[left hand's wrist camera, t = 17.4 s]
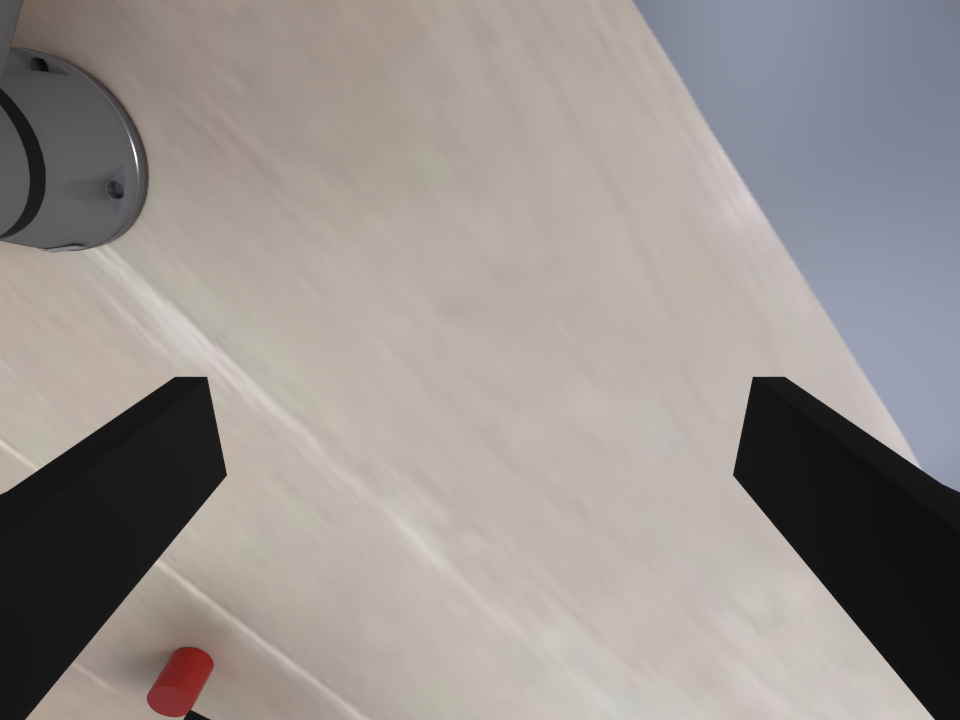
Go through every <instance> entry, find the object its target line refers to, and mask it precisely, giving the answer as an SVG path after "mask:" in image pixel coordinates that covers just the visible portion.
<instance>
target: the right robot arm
mask: <svg viewBox="0 0 960 720" xmlns="http://www.w3.org/2000/svg"><path fill="white" fill-rule="evenodd" d="M184 720H210V719H208V718H206V717H204V716H202V715H200V714H198V713H196V712H194V711H192V710H190V711H189V712H188V713H187V714H186V716H185V718H184Z"/></svg>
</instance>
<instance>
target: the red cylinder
mask: <svg viewBox="0 0 960 720" xmlns="http://www.w3.org/2000/svg"><path fill="white" fill-rule="evenodd" d="M212 670H213V661H212V659H211V657H210V656H209V655H208V654H207V653H205V652H204V651H202V650H199V649H196V648H190V647H186V648H181V649H179V650H177V651H175V652H174V653H173V655H172V656H171V658H170V659H169V661H168V663H167V664H166V666H165V667H164V669H163V671H162V672H161V674H160V675H159V677H158V678H157V680H156V682H155V683H154V685H153V686H152V688H151V690H150V691H149V693H148V695H147V702H148V704H149V706H150V707H151V708H152V709H153V710H154V711H156V712H157V713H159V714H161V715H164V716H168V717H180V716H184V715H186V714H187V713H188V712H189V711H190V710H191V709H192V707H193V705H194V704H195V702H196V700H197V698H198V696H199V694H200V692H201V690H202V689H203V687H204V685H205V683H206V681H207V679H208V677H209V675H210V674H211V672H212Z"/></svg>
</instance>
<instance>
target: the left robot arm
mask: <svg viewBox="0 0 960 720" xmlns="http://www.w3.org/2000/svg"><path fill="white" fill-rule="evenodd" d="M22 4H23V0H0V241H4V242H9V243H14V244H19V245H24V246H29V247H35V248H39V249H45V250H41V251H47V252H53V253H54V252H62V251H78V250H85V249H90V248H94V247H98V246H102V245H105V244H108V243H110V242H112V241H114V240H116V239H117V238H119V237H120V236H122V235H123V234H124V233H125V232H126V231H127V230H129V229H130V227H131V226H132V225H133V224H134V222H135V221H136V219H137V218H138V216H139V214H140V212H141V210H142V208H143V205H144V202H145V198H146V194H147V187H148V168H147V161H146V156H145V152H144V148H143V145H142V142H141V139H140V136H139V134H138V132H137V129H136V127H135V125H134V124H133V122H132V120H131V118H130V116H129V115H128V113H127V112H126V110H125V109H124V107H123V106H122V105H121V103H120V102H119V101H118V99H117V98H116V97H115V96H114V95H113V94H112V93H111V92H110V91H109V90H108V89H107V88H106V87H105V86H104V85H103V84H102V83H101V82H100V81H99V80H97V79H96V78H95V77H94V76H92V75H91V74H90V73H88V72H87V71H85V70H84V69H82V68H80V67H79V66H77V65H75V64H73V63H71V62H69V61H67V60H65V59H62V58H59V57H57V56H53V55H50V54H46V53H42V52H38V51H35V50H30V49H24V48H11V44H12V40H13V36H14V33H15V29H16V25H17V22H18V18H19V15H20V11H21V7H22ZM226 476H227V473H226V468H225V463H224V458H223V453H222V448H221V443H220V438H219V433H218V428H217V423H216V419H215V414H214V409H213V404H212V399H211V394H210V389H209V384H208V379H207V377H174V378H173V379H171V380H170V381H168V382H167V383H166V384H164V385H163V386H161V387H160V388H158V389H157V390H155V391H154V392H152V393H151V394H149V395H148V396H146V397H145V398H144V399H142V400H141V401H139V402H138V403H136V404H135V405H133V406H132V407H130V408H129V409H127V410H126V411H125V412H123V413H122V414H120V415H119V416H117V417H116V418H114V419H113V420H111V421H110V422H108V423H107V424H105V425H104V426H103V427H101V428H100V429H98V430H97V431H95V432H94V433H92V434H91V435H89V436H88V437H86V438H85V439H84V440H82V441H81V442H79V443H78V444H76V445H75V446H73V447H72V448H70V449H69V450H67V451H66V452H64V453H63V454H62V455H60V456H59V457H57V458H56V459H54V460H53V461H51V462H50V463H48V464H47V465H45V466H44V467H43V468H41V469H40V470H38V471H37V472H35V473H34V474H32V475H31V476H29V477H28V478H26V479H25V480H23V481H22V482H21V483H19V484H18V485H16V486H15V487H13V488H12V489H10V490H9V491H7V492H5V493H3V494H1V495H0V720H25V719H26V718H27V717H28V716H29V714H30V713H31V712H32V711H33V710H34V708H35V707H36V706H37V705H38V703H39V702H40V701H41V700H42V699H43V697H44V696H45V695H46V694H47V693H48V691H49V690H50V689H51V688H52V687H53V685H54V684H55V683H56V682H57V680H58V679H59V678H60V677H61V676H62V674H63V673H64V672H65V671H66V670H67V668H68V667H69V666H70V665H71V663H72V662H73V661H74V660H75V659H76V657H77V656H78V655H79V654H80V653H81V651H82V650H83V649H84V648H85V647H86V645H87V644H88V643H89V642H90V640H91V639H92V638H93V637H94V636H95V634H96V633H97V632H98V631H99V630H100V628H101V627H102V626H103V625H104V624H105V622H106V621H107V620H108V619H109V617H110V616H111V615H112V614H113V613H114V611H115V610H116V609H117V608H118V607H119V605H120V604H121V603H122V602H123V601H124V599H125V598H126V597H127V596H128V594H129V593H130V592H131V591H132V590H133V588H134V587H135V586H136V585H137V584H138V582H139V581H140V580H141V579H142V578H143V576H144V575H145V574H146V573H147V571H148V570H149V569H150V568H151V567H152V565H153V564H154V563H155V562H156V561H157V559H158V558H159V557H160V556H161V554H162V553H163V552H164V551H165V550H166V548H167V547H168V546H169V545H170V544H171V542H172V541H173V540H174V539H175V538H176V536H177V535H178V534H179V533H180V531H181V530H182V529H183V528H184V527H185V525H186V524H187V523H188V522H189V521H190V519H191V518H192V517H193V516H194V515H195V513H196V512H197V511H198V510H199V508H200V507H201V506H202V505H203V504H204V502H205V501H206V500H207V499H208V498H209V496H210V495H211V494H212V493H213V492H214V490H215V489H216V488H217V487H218V485H219V484H220V483H221V482H222V481H223V479H224V478H225V477H226ZM733 476H734V477H735V478H736V479H737V481H738V482H739V483H740V484H741V485H742V487H743V488H744V489H745V490H746V492H747V493H748V494H749V495H750V496H751V498H752V499H753V500H754V501H755V502H756V504H757V505H758V506H759V507H760V508H761V510H762V511H763V512H764V513H765V515H766V516H767V517H768V518H769V519H770V521H771V522H772V523H773V524H774V525H775V527H776V528H777V529H778V530H779V531H780V533H781V534H782V535H783V536H784V538H785V539H786V540H787V541H788V542H789V544H790V545H791V546H792V547H793V548H794V550H795V551H796V552H797V553H798V555H799V556H800V557H801V558H802V559H803V561H804V562H805V563H806V564H807V565H808V567H809V568H810V569H811V570H812V571H813V573H814V574H815V575H816V576H817V578H818V579H819V580H820V581H821V582H822V584H823V585H824V586H825V587H826V588H827V590H828V591H829V592H830V593H831V594H832V596H833V597H834V598H835V599H836V601H837V602H838V603H839V604H840V605H841V607H842V608H843V609H844V610H845V611H846V613H847V614H848V615H849V616H850V617H851V619H852V620H853V621H854V622H855V624H856V625H857V626H858V627H859V628H860V630H861V631H862V632H863V633H864V634H865V636H866V637H867V638H868V639H869V640H870V642H871V643H872V644H873V645H874V647H875V648H876V649H877V650H878V651H879V653H880V654H881V655H882V656H883V657H884V659H885V660H886V661H887V662H888V663H889V665H890V666H891V667H892V668H893V670H894V671H895V672H896V673H897V674H898V676H899V677H900V678H901V679H902V680H903V682H904V683H905V684H906V685H907V687H908V688H909V689H910V690H911V691H912V693H913V694H914V695H915V696H916V697H917V699H918V700H919V701H920V702H921V703H922V705H923V706H924V707H925V708H926V710H927V711H928V712H929V713H930V714H931V716H932V717H933V718H934V719H935V720H960V492H958V491H955V490H953V489H951V488H949V487H947V486H945V485H943V484H941V483H939V482H938V481H937V480H935V479H934V478H932V477H931V476H929V475H928V474H926V473H925V472H923V471H922V470H920V469H919V468H917V467H916V466H915V465H913V464H912V463H910V462H909V461H907V460H906V459H904V458H903V457H901V456H900V455H898V454H897V453H896V452H894V451H893V450H891V449H890V448H888V447H887V446H885V445H884V444H882V443H881V442H879V441H878V440H876V439H875V438H874V437H872V436H871V435H869V434H868V433H866V432H865V431H863V430H862V429H860V428H859V427H857V426H856V425H855V424H853V423H852V422H850V421H849V420H847V419H846V418H844V417H843V416H841V415H840V414H838V413H837V412H835V411H834V410H833V409H831V408H830V407H828V406H827V405H825V404H824V403H822V402H821V401H819V400H818V399H816V398H815V397H814V396H812V395H811V394H809V393H808V392H806V391H805V390H803V389H802V388H800V387H799V386H797V385H796V384H794V383H793V382H792V381H790V380H789V379H787V378H786V377H753V379H752V384H751V389H750V394H749V399H748V404H747V409H746V414H745V419H744V423H743V428H742V433H741V438H740V443H739V448H738V453H737V458H736V463H735V468H734V473H733Z"/></svg>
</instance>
